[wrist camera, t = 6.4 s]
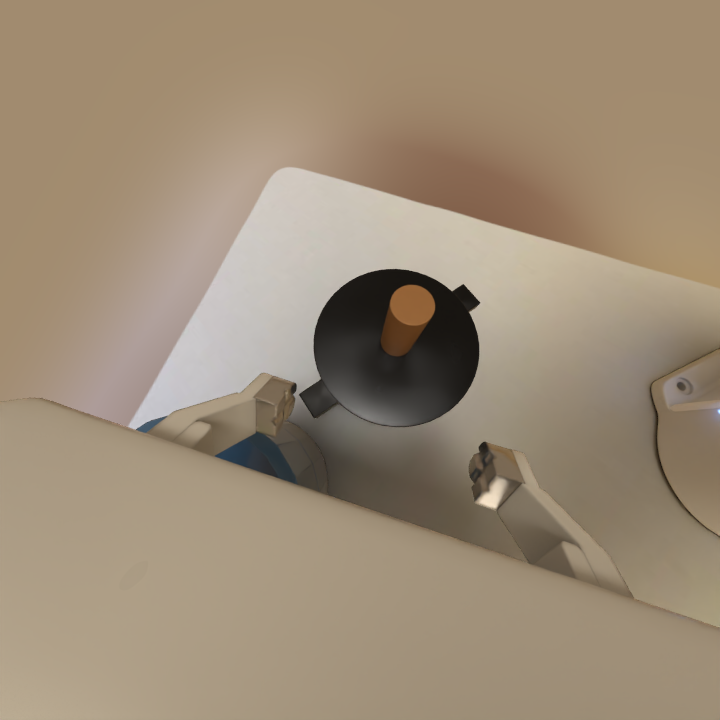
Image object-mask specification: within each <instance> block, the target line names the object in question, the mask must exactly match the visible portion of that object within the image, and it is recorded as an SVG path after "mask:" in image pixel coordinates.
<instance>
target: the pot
mask: <svg viewBox="0 0 720 720" xmlns="http://www.w3.org/2000/svg"><path fill="white" fill-rule="evenodd" d="M166 417H167V416H165V417H162V418H158V419H155V420H151V421H150V422H147V423H145V424H144V425H142V426H141V427H139V428H137V429H136V430H137V431H140V432H143V433H146V432H148V431H149V430H150V429H152V428H153V427H154V426H156V425H157V424H158V423H159V422H161V421H162V420H163V419H165V418H166ZM215 457H217V458H220V459H223V460H226V461H229V462H232V463H235V464H238V465H241V466H244V467H247V468H250V469H253V470H256V471H258V472H261V473H264V474H267V475H270V476H273V477H276V478H279V479H282V480H285V481H288V482H291V483H294V484H297V485H300V486H303V487H306V488H309V489H312V490H315V491H318V492H320V493H323V494H326V495H327V494H328V475H327V469H326V465H325V461H324V459H323V456H322V453H321V452H320V450H319V448H318V446H317V445H316V443H315V442H314V440H313V439H312V438H311V437H310V436H309V435H308V434H307V433H306V432H305V431H304V430H302V429H301V428H300V427H298V426H296V425H295V424H293V423H290V422H288V421H285V420H284V421H283V427H282V428H281V430H280V431H279V433H278V434H277V436H276V437H271V436H268V435H264V434H261V433H258V432H256V433H255V434H253V435H251V436H249V437H248V438H246V439H244V440H242V441H240V442H239V443H237V444H235V445H233V446H231V447H229V448H228V449H226V450H224V451H222V452H220V453H218V454H217V455H215Z"/></svg>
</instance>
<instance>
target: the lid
mask: <svg viewBox="0 0 720 720" xmlns="http://www.w3.org/2000/svg"><path fill="white" fill-rule="evenodd" d="M314 356H315V361H316V365H317V369H318V372H319V374H320V377H321V379H322V381H323V382H324V384H325V386H326V388H327V389H328V391H329V392H330V393H331V394H332V396H333V397H334V398H335V399H336V400H337V401H338V402H339V403H340V404H341V405H342V406H343V407H344V408H346V409H347V410H348V411H350V412H351V413H353V414H354V415H356V416H358V417H360V418H361V419H364V420H366V421H369V422H371V423H375V424H379V425H383V426H391V427H408V426H414V425H420V424H423V423H426V422H430V421H432V420H434V419H436V418H438V417H440V416H442V415H443V414H445V413H446V412H448V411H450V410H451V409H452V408H453V407H454V406H455V405H456V404H458V402H459V401H460V400H461V399H462V398H463V397H464V395H465V394H466V392H467V391H468V389H469V388H470V386H471V384H472V382H473V379H474V377H475V374H476V371H477V367H478V361H479V341H478V335H477V331H476V328H475V324H474V322H473V320H472V317H471V315H470V314H469V312H468V310H467V309H466V307H465V306H464V304H463V303H462V302H461V300H460V299H459V298H458V297H457V296H456V295H455V294H454V293H453V292H452V291H451V290H450V289H448V288H447V287H446V286H444V285H443V284H441V283H440V282H438V281H437V280H435V279H433V278H431V277H428V276H426V275H423V274H420V273H417V272H413V271H409V270H400V269H386V270H378V271H374V272H370V273H366V274H364V275H361V276H359V277H357V278H355V279H353V280H351V281H349V282H348V283H347V284H345V285H344V286H342V287H341V288H340V289H339V290H338V291H337V292H336V293H334V295H333V296H332V297H331V298H330V299H329V301H328V302H327V304H326V305H325V307H324V308H323V310H322V312H321V314H320V316H319V319H318V322H317V325H316V328H315V334H314Z"/></svg>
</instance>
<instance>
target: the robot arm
mask: <svg viewBox="0 0 720 720" xmlns="http://www.w3.org/2000/svg"><path fill="white" fill-rule="evenodd" d="M295 392H296V383H294V382H291V381H288V380H285V379H282V378H279V377H276V376H272V375H269V374H266V373H261V374H260V375H259V376H258V377H257V378H256V379H255V380H254V381H253V382H251V383H250V384H249V385H248V386H247V387H246V388H245V389H244V390H243V391H242V392H241V393H234V394H230V395H227V396H223V397H220V398H217V399H213V400H210V401H207V402H203V403H200V404H197V405H193V406H190V407H187V408H183V409H180V410H177V411H174V412H172V413H171V414H170V415H168V416H167V417H166V418H165V419H163V420H162V421H161V422H159V423H158V424H157V425H156V426H154V427H153V428H152V429H150V430H149V431H148V432H146V433H143V432H140V431H137V430H134V429H131V428H128V427H126V426H123V425H120V424H116V423H114V422H111V421H108V420H105V419H102V418H99V417H96V416H93V415H90V414H87V413H84V412H81V411H78V410H75V409H72V408H69V407H67V406H64V405H61V404H59V403H56V402H53V401H49V400H45V399H42V398H26V399H17V400H9V401H2V402H0V720H720V628H719V627H716V626H713V625H710V624H707V623H704V622H701V621H698V620H695V619H692V618H689V617H686V616H683V615H680V614H677V613H674V612H671V611H669V610H666V609H663V608H660V607H657V606H654V605H651V604H648V603H645V602H642V601H639V600H636V599H634V597H633V595H632V594H631V592H630V590H629V588H628V587H627V585H626V583H625V581H624V580H623V578H622V576H621V574H620V572H619V571H618V569H617V567H616V565H615V564H614V562H613V560H612V558H611V557H610V555H609V554H608V553H607V552H606V551H605V550H604V549H603V548H602V547H601V546H600V545H599V544H598V543H597V542H596V541H595V540H594V539H593V538H592V537H591V536H590V535H589V534H588V533H587V532H586V531H585V530H584V529H583V528H582V527H581V526H580V525H579V524H578V523H577V522H576V521H575V520H574V519H573V518H572V517H571V516H570V515H569V514H568V513H567V512H566V511H565V510H564V509H563V508H562V507H561V506H560V505H559V504H558V503H557V502H556V501H555V500H554V499H553V498H552V497H551V496H550V495H549V494H548V493H547V492H546V491H545V490H542V489H540V487H539V485H538V482H537V480H536V478H535V476H534V474H533V471H532V469H531V467H530V465H529V462H528V460H527V458H526V456H525V455H524V454H523V453H522V452H519V451H515V450H512V449H507V448H504V447H501V446H497V445H494V444H491V443H488V442H483V443H482V444H481V445H480V446H479V451H480V452H479V453H477V454H474V455H473V457H472V458H471V460H470V464H469V476H470V478H471V480H472V481H473V482H474V485H473V486H472V492H473V497H474V502H475V503H476V504H479V505H482V506H485V507H487V508H490V509H493V510H496V512H497V514H498V515H499V517H500V519H501V520H502V522H503V523H504V525H505V526H506V528H507V529H508V531H509V532H510V534H511V535H512V537H513V538H514V540H515V542H516V543H517V545H518V546H519V548H520V549H521V551H522V552H523V554H524V555H525V557H526V558H527V560H528V562H529V563H527V562H524V561H521V560H518V559H515V558H512V557H509V556H506V555H503V554H501V553H498V552H495V551H492V550H489V549H486V548H483V547H480V546H477V545H474V544H471V543H468V542H465V541H462V540H459V539H456V538H453V537H450V536H447V535H444V534H441V533H438V532H436V531H433V530H430V529H427V528H424V527H421V526H418V525H415V524H412V523H409V522H406V521H403V520H400V519H397V518H394V517H391V516H388V515H385V514H382V513H379V512H376V511H374V510H371V509H368V508H365V507H362V506H359V505H356V504H353V503H350V502H347V501H344V500H341V499H338V498H335V497H332V496H329V495H326V494H323V493H320V492H318V491H315V490H312V489H309V488H306V487H303V486H300V485H297V484H294V483H291V482H288V481H285V480H282V479H279V478H276V477H273V476H270V475H267V474H264V473H261V472H258V471H256V470H253V469H250V468H247V467H244V466H241V465H238V464H235V463H232V462H229V461H226V460H223V459H220V458H217V457H215V455H217V454H218V453H220V452H222V451H224V450H226V449H228V448H229V447H231V446H233V445H235V444H237V443H239V442H240V441H242V440H244V439H246V438H248V437H249V436H251V435H253V434H255V433H256V432H258V433H261V434H264V435H268V436H271V437H276V436H277V434H278V433H279V431H280V430H281V428H282V427H283V421H284V420H287V419H288V418H289V416H290V415H291V413H292V410H293V408H294V404H295V397H294V396H293V394H294V393H295ZM651 392H652V397H653V401H654V404H655V407H656V410H657V412H658V433H657V444H658V452H659V457H660V461H661V464H662V467H663V470H664V473H665V475H666V477H667V480H668V482H669V484H670V485H671V487H672V489H673V491H674V492H675V494H676V495H677V497H678V498H679V500H680V501H681V502H682V503H683V505H684V506H685V507H686V508H687V509H688V511H689V512H690V513H691V514H692V515H693V516H694V517H695V518H696V519H697V520H698V521H699V522H701V523H702V524H703V525H704V526H705V527H707V528H708V529H709V530H711V531H712V532H714V533H715V534H717V535H718V536H720V349H718V350H716V351H714V352H712V353H710V354H708V355H706V356H704V357H702V358H700V359H698V360H696V361H694V362H692V363H690V364H688V365H686V366H684V367H682V368H680V369H678V370H676V371H674V372H672V373H670V374H668V375H666V376H664V377H662V378H660V379H658V380H656V381H655V382H654V383H653V384H652V386H651Z"/></svg>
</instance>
